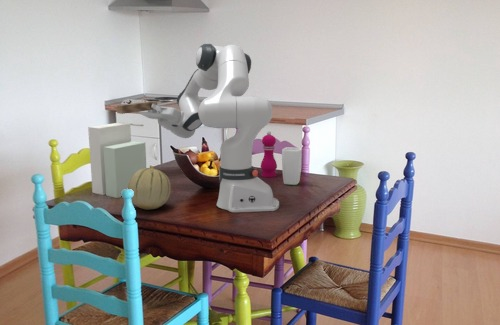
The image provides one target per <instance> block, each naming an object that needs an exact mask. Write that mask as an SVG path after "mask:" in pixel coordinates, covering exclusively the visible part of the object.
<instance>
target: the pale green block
mask: <svg viewBox="0 0 500 325" xmlns="http://www.w3.org/2000/svg"><path fill="white" fill-rule="evenodd" d="M103 149H104V166H105V182H106V194H105V196H106V197H109V198H116V199H118V198H122V197H121V194H120V193H121V191H122V190H123V189H127V188H128V184H129V181H130V179H131V177H132V176H133V175H134V174H135V173H136V172H137V171H138V170H140V169H144V168H147V149H146V142H142V141H136V140H134V141H131V142H128V143H122V144H117V145H112V146H107V147H103Z"/></svg>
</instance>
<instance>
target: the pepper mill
mask: <svg viewBox="0 0 500 325" xmlns="http://www.w3.org/2000/svg"><path fill="white" fill-rule="evenodd" d="M276 139H277V138H276V137H275V136H274V135H272V132H271V131H267V132H266V135H264V136H263V137H262V138H261V142H262V145H263V146H262V147H263V149H262V150H264V155H263V157H262V161H261V163H260V168H261V170H262V172H261V177H263V178H267V179H268V178H275V177H276V174H277V173H276V170H277V168H278V165H277V161H276V159H275V156H274V151H275V145H276V141H277V140H276Z"/></svg>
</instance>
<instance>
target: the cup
mask: <svg viewBox="0 0 500 325" xmlns="http://www.w3.org/2000/svg"><path fill="white" fill-rule="evenodd" d="M302 150H303V148H302V147H291V146H290V147H289V146H288V147H287V146H286V147H284V148H282V150H281V168H282V169H281V170H282V179H283V180H282V182H283V184H284V185H286V186H297V185H298V184H299V183H300V179H301V172H302V158H303V156H302V153H303V152H302Z"/></svg>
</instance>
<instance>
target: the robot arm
mask: <svg viewBox="0 0 500 325" xmlns="http://www.w3.org/2000/svg"><path fill="white" fill-rule="evenodd" d="M195 63H196V66H197V69H196V70H194V72H193V73H192V74H191V77H190V79H189V80H188V82H187V83H186V86H185V88H184V89H183V90H182V91H181V92H180V93H179V95H178V96H177V97H176V104H177V107H178V108H179V109H180V110H179V109H178V108H176V107H169V106H160V105H158V104H157V105H155V104H151V105H150V108H152V109H154V110H147V111H139V112H138V114H140V115H142V116H144V117H145V118H147V119H151V120H157V123H158V125H159V126H160V127H162V128H164V129H166V130H167V131H170V132H171V133H172V134H174V135H175V136H177V137H179V138H182V139H189V138H192V137H193V136H194V134H195V133H196V130H197V129H199V128H200V127H201V126H202V125H203V126H204V127H209V128H213V129H214V128H215V129H238V130H237V132H236V134H235V135H233V136H231V137H229V138H227V139H225V140H224V141H223V142H222V143H221V146H220V149H219V151H220V154H219V156H220V166H219V170H218V178H219V183H220V184H219V193H218V199H217V202H216V206H217V207H218V208H220V209H222V210H226V211H229V212H230V213H249V212H250V213H251V212H252V213H253V212H270V211H271V212H274V211H276V210H278V209H279V208H280V201H279V199H278V198H275V197H274V193H273V190H272V187H271V186H270V184H268V183H266V182H265V181H263V180H262V179H261V178H259V177H258V174H259V171H258V168H257V167H255V166H253V165H252V164H253V162H252V159H253V147H254V143H255V140H256V138H257V135H258V134H259V133H260V132H261V130H263V129H264V128H265V127H266V126H267V125H269V124H270V122H271V120H272V118H273V114H274V111H273V106H272V104H271V102H270V100H269V99H268V98H265V97H261V96H255V95H250V96H249V95H247V96H246V95H245V96H244V94H245V93H246V92H247V91H248V89H249V87H250V82H249V81H250V78H249V73H251V72H250V71H251V69H252V58H251V57H250V55H249V54H247V53H245V52H244V50H243V49H242V47H241V46H239V45H237V44H227V45H225V46H221V45H214V44H211V43H203V44H201V45H200V46H199V48H198V50H197V52H196V56H195ZM201 89H204V90H207V91H213V90H214V91H213V92H212V94H210V95H209V96H207V97H206V98H204V99H203V100H201V101H200V98H199V92H200V90H201Z"/></svg>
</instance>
